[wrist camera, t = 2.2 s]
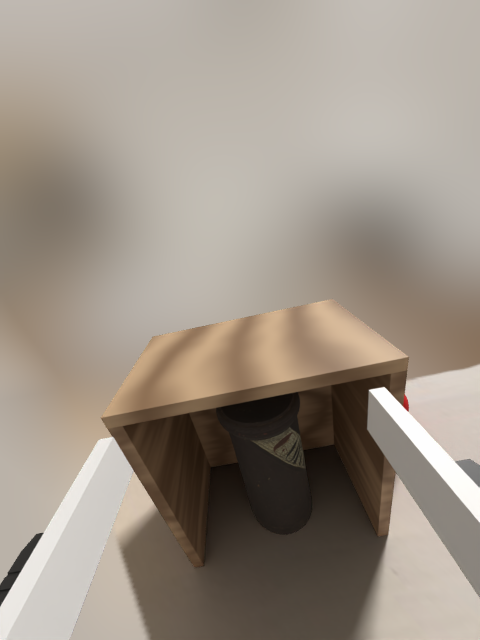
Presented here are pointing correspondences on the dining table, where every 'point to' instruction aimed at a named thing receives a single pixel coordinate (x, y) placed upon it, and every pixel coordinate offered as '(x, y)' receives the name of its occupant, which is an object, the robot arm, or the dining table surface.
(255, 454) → the container
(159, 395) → the cubby
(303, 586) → the dining table surface
